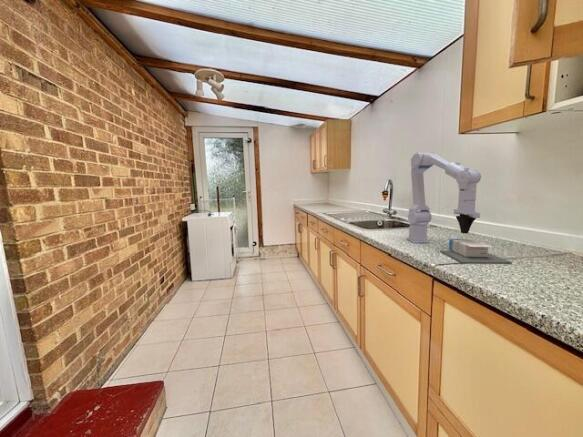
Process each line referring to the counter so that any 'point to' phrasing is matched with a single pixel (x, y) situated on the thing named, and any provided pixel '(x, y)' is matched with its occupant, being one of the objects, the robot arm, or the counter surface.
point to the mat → (476, 259)
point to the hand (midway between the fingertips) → (464, 233)
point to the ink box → (468, 247)
